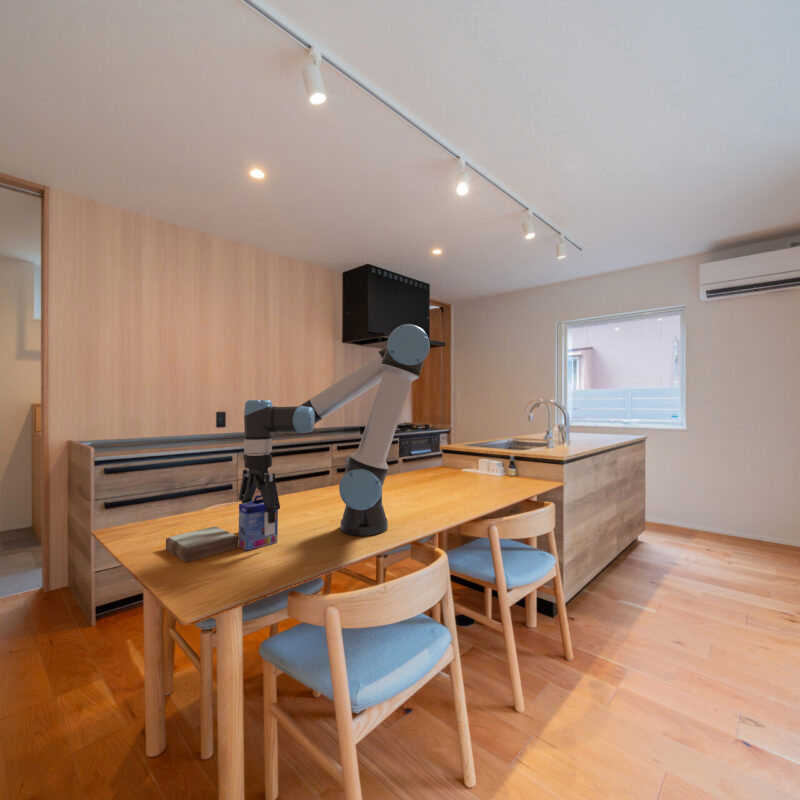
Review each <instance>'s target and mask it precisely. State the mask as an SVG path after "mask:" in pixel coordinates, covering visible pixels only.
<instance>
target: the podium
mask: <svg viewBox="0 0 800 800" xmlns="http://www.w3.org/2000/svg"><path fill="white" fill-rule="evenodd" d="M238 548H240V546H239V535H235V534H233V533H231V532H229V531H227V530H225V529H222V528H221V527H219V526H216V525H215V526H210V527H207V528H206V527H205V528H203V529H202V528H201V529H198V530H197V529H196V530H194V531H189V532H184V533H180V534H175V535H171V536H168V537H167V538H165V550H166V551H167V552H169V553H171V554H172V555H174V556H175V557H177V558H178V559H179V560H182V561H183V562H184V563H188V562H192V561H195V560H199V559H200V560H201V559H203V558H206V557H210V556H213V555H216V554H221V553H224V552H225V553H226V552H227V551H228V552H229V551H232V550H235V549H238Z"/></svg>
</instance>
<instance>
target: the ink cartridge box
mask: <svg viewBox="0 0 800 800" xmlns="http://www.w3.org/2000/svg"><path fill="white" fill-rule="evenodd" d="M253 498H254V499H253V501H251V502H246V503H242V502H241V503H239V504H238V542H239V548H241V549H242V550H244V551H246V552H247V551H250V550H255V549H258V548H261V547H265V546H270V545H273V544H277V543H278V537H279V536H278V535H279V534H278V533H279V529H278V527H279V526H278V525H279V524H278V521H279V509H277V510H275V534H271V535H267V536H265V512H264V511H265V510H266V507H265V504H264V501H263V498H262V495H261V494H260V495H256V496H255V497H253Z"/></svg>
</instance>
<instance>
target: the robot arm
mask: <svg viewBox="0 0 800 800" xmlns="http://www.w3.org/2000/svg"><path fill="white" fill-rule="evenodd" d="M430 349H431V343H430V339H429V336H428V334H427V333H426V331H425V330H424V329H423V328H422V327H419V326H418V325H415V324H411V323H406V324H402V325H399V326H398V327H396V328H394V329H393V331H391V333H390V334H389V336H388V338H387V345H386V346H385V347H382V348H381V349H380V350H379V351H377V352H376V355H375V357H373V359H371V360H369V361H368V362H366V363H365V364H362V365H361V366H360V367H358V368H357V369H355V370H354V371H351V373H349V374H347V375H346V376H344V377H342V378H341V379H339V380H338V381H336V382H335V383H333V384H332V385H330V386H328V387H327V388H325V389H323V390H322V391H320V392H319V393H317V394H316V395H314V396H313V397H311V398H309V399H308V400H306V401H305V402H303V403H302V404H300V405H298V406H273V402H272V400H270V399H249V400H247V401H245V403H244V410H243V411H244V412H243V413H244V415H243V421H244V423H243V425H244V426H243V427H244V429H243V431H244V439H243V445H244V446H243V451H244V452H243V453H244V454H245V455H244V457H243V459H244V463H243V464H244V466H243V467H244V468H245V469H243V470H242V480H241V482H240V483H241V484H240V490H239V495H238V501H241V504H242V503H246V502H251V501H254V499H253V498H254V495H255V492H256V490H257V491H260V495H262V497H261V499H263V501H264V504H265V507H266V510H265V511H264V512H265V536H267V535H271V534H275V510H277V509H278V510H280V509H281V504H280V498H279V495H278V489H277V485H276V484H277V483H276V474H275V473H274V472H273V473H269V468H271V467H272V466H273V455H272V454H271V452H273V441H272V438H273V433H275V434H277V433H280V434H281V433H286V434H287V433H289V434H290V433H291V434H292V433H295V434H297V433H298V434H304V433H305V434H306V433H312V432H313V431H314V428H315V425H316V424H317V423H319V422H320V421H321V420H323V419H325V418H326V417H329V415H331V414H333V413H334V412H336V411H338V409H341V408H342V407H344V406H345V405H347V404H349V403H350V402H352V401H353V400H355V399H356V398H358V397H359V396H361V395H363V394H364V393H366V392H367V391H369V390H370V389H372V388H374V387H376V386H377V385H378V384H379V386H378V389H377V391H376V393H375V394H376V395H375V398H374V399H373V404H372V407H371V410H370V413H369V416H368V418H367V422H366V425H365V428H364V431H363V434H362V437H361V440H360V441H359V446H358V448H357V450H356V451H355V452H353V453H351V454H350V456H349V457H347V458H345V459H346V460H345V464H344V468H345V470H344V473H343V475H342V477H341V479H340V481H339V485H338V488H339V490H338V491H339V496H340V499H341V500H342V502H343V503H344V505H345V507H344V511H343V514H342V518H341V520H340V531H341V532H342V533H343V534H346V535H350V536H361V537H362V536H363V537H364V536H374V535H378V534H382V533H383V532H386V531H387V530H388V527H389V522H388V518H387V517H386V512H385V508H384V505H383V486H384V484H385V480H386V477H387V474H388V471H389V468H390V467H389V465H388V463H387V458H388V455H389V451H390V449H391V445H392V442H393V439H394V436H395V434H396V430H397V427H398V424H399V421H400V419H401V415H402V412H403V409H404V407H405V403H406V400H407V398H408V394H409V391H410V389H411V387H412V383H413V382H414V381H416V380H417V379H420V375H421V372H422V369H423V367H424V363H425V360H426V358H427V357H428V355H429V353H430V351H431V350H430Z"/></svg>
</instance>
